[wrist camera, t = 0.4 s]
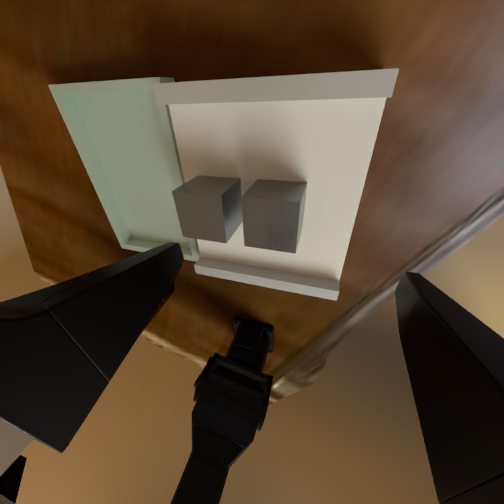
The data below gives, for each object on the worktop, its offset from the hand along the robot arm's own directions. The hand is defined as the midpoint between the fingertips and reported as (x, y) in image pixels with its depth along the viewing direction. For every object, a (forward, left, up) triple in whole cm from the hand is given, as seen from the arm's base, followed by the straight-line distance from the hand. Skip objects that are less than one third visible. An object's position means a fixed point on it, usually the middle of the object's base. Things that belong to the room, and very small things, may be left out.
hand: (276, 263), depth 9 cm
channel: (-2, +3, -14) cm, 14 cm away
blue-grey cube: (-2, +2, -11) cm, 11 cm away
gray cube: (-2, +7, -11) cm, 13 cm away
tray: (-2, +18, -14) cm, 23 cm away
